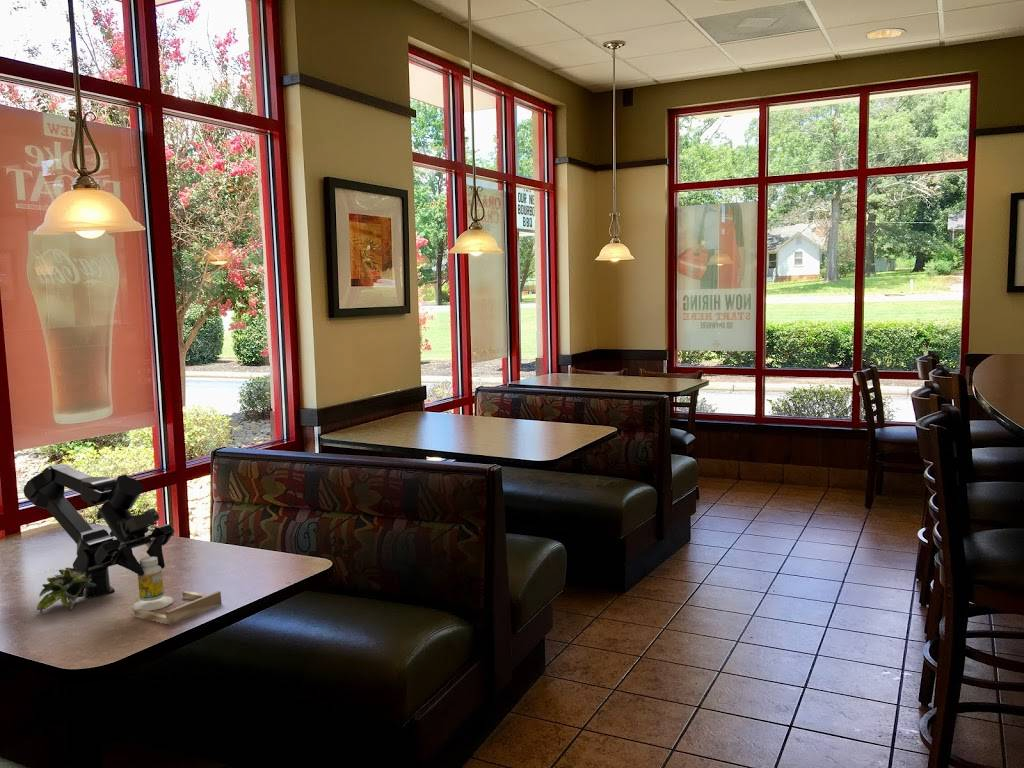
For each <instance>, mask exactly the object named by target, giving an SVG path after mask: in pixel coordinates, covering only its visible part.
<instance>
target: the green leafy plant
mask: <svg viewBox="0 0 1024 768" xmlns="http://www.w3.org/2000/svg"><path fill="white" fill-rule="evenodd" d="M58 572H59V574H54V575H53V576H51V577H49V576H48V577H46V581H47V582H48V583H44V584H42V587H43V588H42V589H41V591H40V592H39V598H40V597H42V596H43V595H44V596H43V598H42V599H41V600H40V601H39V602H38V605H37V606H36V610H37V612H38V611H39V613H42V612H43V610H46V609H48V608H49V607H51V606H52V605H54V603H56V602H58V601H59V600H60V602H61V603H62V604H63V605H64V606H65V607H69V606H70V605H69V603H70V604H71V606H70V607H71V608H70V610H69V611H70V612H72V611H73V608H74V605H75V602H76V600H77V599H79V598H83V597H84V596H85V595H84V593H83V591H84V589H85V588H86V587H95V586H96V583H92V582H90V581H91V580H92V579H90V577H91V574H90V575H89V576H88V577H86V576H87V575H86V572H83V573H81V571H79V572H77V569H76V568H73V567H65V569H59V570H58ZM47 592H48V593H47ZM46 593H47V594H46ZM41 611H42V612H41Z"/></svg>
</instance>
